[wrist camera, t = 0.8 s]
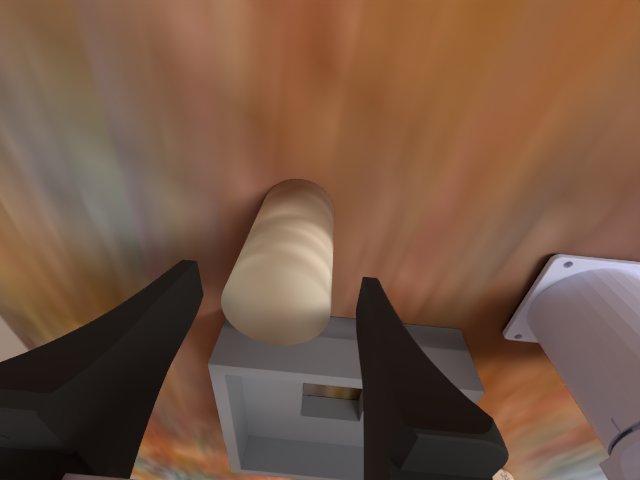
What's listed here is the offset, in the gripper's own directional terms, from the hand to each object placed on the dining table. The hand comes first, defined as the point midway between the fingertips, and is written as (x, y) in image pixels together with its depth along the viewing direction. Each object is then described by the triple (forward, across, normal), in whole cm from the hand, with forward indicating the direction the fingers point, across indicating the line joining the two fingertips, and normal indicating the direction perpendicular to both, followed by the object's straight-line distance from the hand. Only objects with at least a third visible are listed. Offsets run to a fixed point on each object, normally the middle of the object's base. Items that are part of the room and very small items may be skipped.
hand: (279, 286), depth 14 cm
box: (+6, -4, +18) cm, 20 cm away
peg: (+7, 0, 0) cm, 7 cm away
